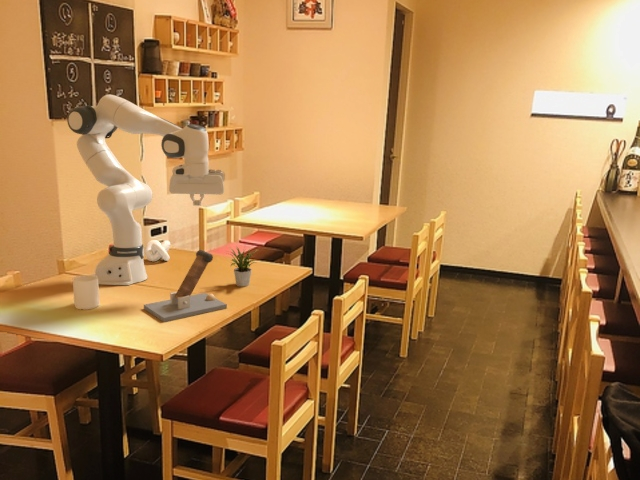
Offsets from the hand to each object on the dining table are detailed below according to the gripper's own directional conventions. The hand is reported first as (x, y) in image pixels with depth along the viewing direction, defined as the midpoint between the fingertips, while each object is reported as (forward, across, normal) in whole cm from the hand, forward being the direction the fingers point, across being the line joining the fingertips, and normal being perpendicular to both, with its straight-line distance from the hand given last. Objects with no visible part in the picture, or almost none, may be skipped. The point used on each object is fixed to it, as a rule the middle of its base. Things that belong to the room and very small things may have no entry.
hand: (197, 205), depth 227 cm
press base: (+31, +3, +26) cm, 40 cm away
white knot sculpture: (+37, +19, -43) cm, 60 cm away
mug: (+32, +37, +19) cm, 53 cm away
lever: (+28, +4, +26) cm, 38 cm away
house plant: (+33, -16, -2) cm, 37 cm away
